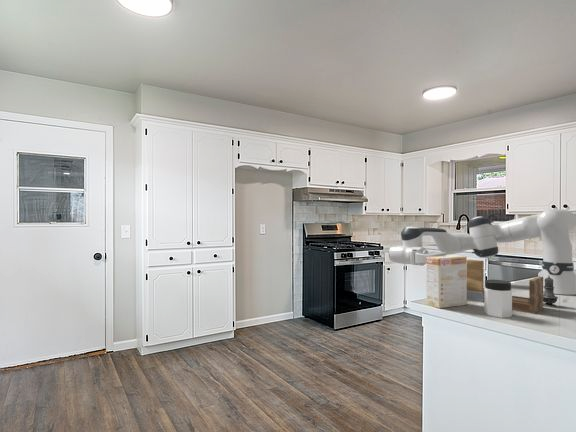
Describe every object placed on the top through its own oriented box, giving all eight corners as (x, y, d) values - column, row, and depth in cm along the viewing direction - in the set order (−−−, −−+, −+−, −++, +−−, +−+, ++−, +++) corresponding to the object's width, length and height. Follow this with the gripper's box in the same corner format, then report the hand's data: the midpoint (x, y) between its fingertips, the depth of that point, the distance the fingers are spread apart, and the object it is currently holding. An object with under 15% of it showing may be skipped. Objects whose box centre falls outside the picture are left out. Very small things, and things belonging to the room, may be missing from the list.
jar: (514, 318, 126) (514, 284, 126) (488, 317, 128) (488, 282, 128) (506, 312, 134) (506, 279, 134) (482, 310, 136) (482, 278, 136)
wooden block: (469, 296, 160) (469, 259, 160) (483, 298, 155) (483, 260, 155) (466, 296, 158) (466, 260, 158) (481, 299, 154) (481, 261, 154)
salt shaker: (561, 307, 141) (561, 277, 141) (544, 307, 142) (544, 276, 142) (553, 304, 147) (553, 274, 147) (537, 303, 148) (537, 274, 148)
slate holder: (465, 295, 163) (465, 287, 163) (489, 299, 156) (489, 290, 156) (458, 298, 158) (458, 289, 158) (482, 301, 151) (482, 293, 151)
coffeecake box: (453, 301, 152) (453, 254, 152) (467, 305, 145) (467, 256, 145) (425, 304, 146) (425, 256, 146) (439, 308, 140) (439, 257, 140)
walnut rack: (504, 301, 151) (504, 272, 151) (543, 307, 141) (543, 276, 141) (493, 306, 142) (493, 276, 142) (533, 313, 132) (533, 280, 132)
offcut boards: (502, 304, 146) (502, 296, 146) (531, 309, 138) (531, 300, 138) (499, 306, 144) (499, 297, 144) (528, 310, 136) (528, 301, 136)
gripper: (429, 261, 182) (458, 263, 172) (409, 264, 168) (438, 267, 158) (429, 248, 182) (458, 250, 172) (409, 251, 168) (438, 253, 158)
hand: (448, 258), depth 165 cm, fingers open, 8 cm apart
